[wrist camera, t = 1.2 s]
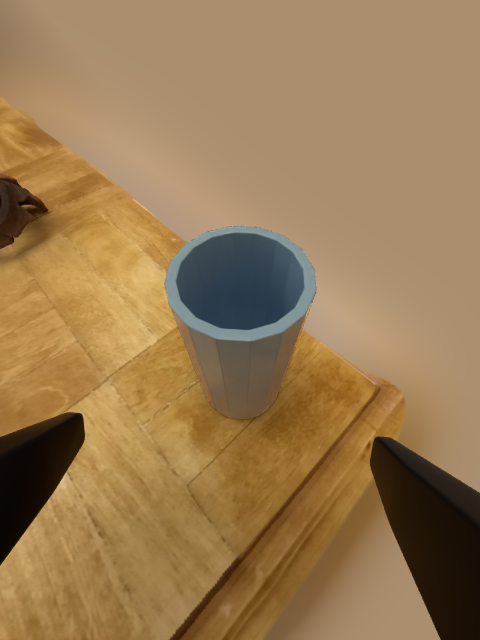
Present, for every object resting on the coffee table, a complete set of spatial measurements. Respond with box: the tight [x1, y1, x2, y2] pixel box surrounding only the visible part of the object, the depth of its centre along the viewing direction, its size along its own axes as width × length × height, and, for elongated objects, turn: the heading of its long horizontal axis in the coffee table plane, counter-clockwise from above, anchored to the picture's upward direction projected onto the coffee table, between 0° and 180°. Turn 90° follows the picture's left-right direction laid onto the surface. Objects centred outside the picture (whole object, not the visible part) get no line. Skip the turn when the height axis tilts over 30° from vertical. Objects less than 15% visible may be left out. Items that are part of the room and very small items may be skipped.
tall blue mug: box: [165, 226, 316, 419], centre depth 18 cm, size 9×6×13 cm
